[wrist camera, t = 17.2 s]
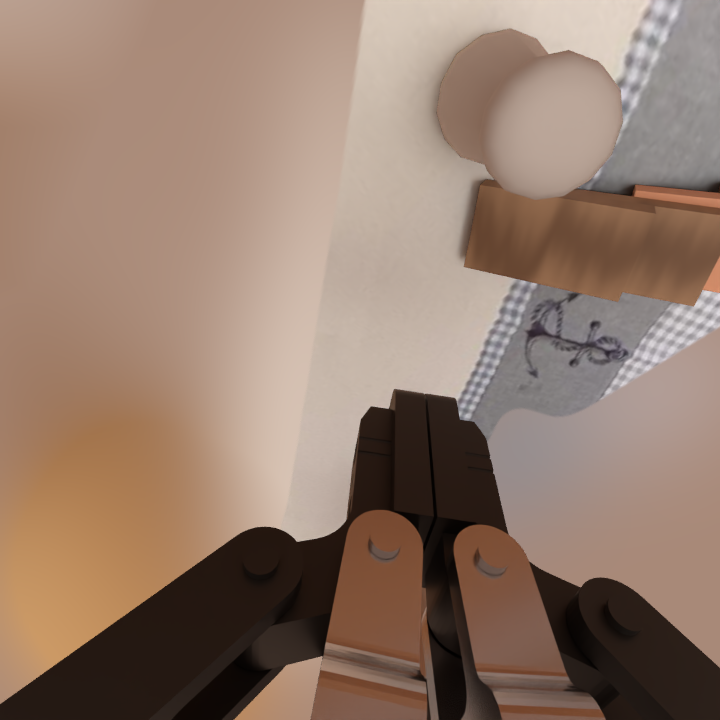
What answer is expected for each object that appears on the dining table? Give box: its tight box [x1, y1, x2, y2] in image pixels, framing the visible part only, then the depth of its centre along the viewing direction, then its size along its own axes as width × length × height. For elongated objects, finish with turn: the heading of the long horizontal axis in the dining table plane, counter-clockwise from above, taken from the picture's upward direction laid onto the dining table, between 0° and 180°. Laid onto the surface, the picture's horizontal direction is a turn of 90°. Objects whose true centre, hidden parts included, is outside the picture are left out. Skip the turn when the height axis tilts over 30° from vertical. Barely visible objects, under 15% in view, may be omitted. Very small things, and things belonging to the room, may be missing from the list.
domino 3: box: [632, 185, 720, 293], centre depth 26 cm, size 5×2×9 cm
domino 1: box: [464, 179, 656, 302], centre depth 26 cm, size 5×2×9 cm
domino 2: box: [570, 189, 720, 306], centre depth 26 cm, size 5×2×9 cm
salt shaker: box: [437, 29, 623, 200], centre depth 19 cm, size 6×6×13 cm
